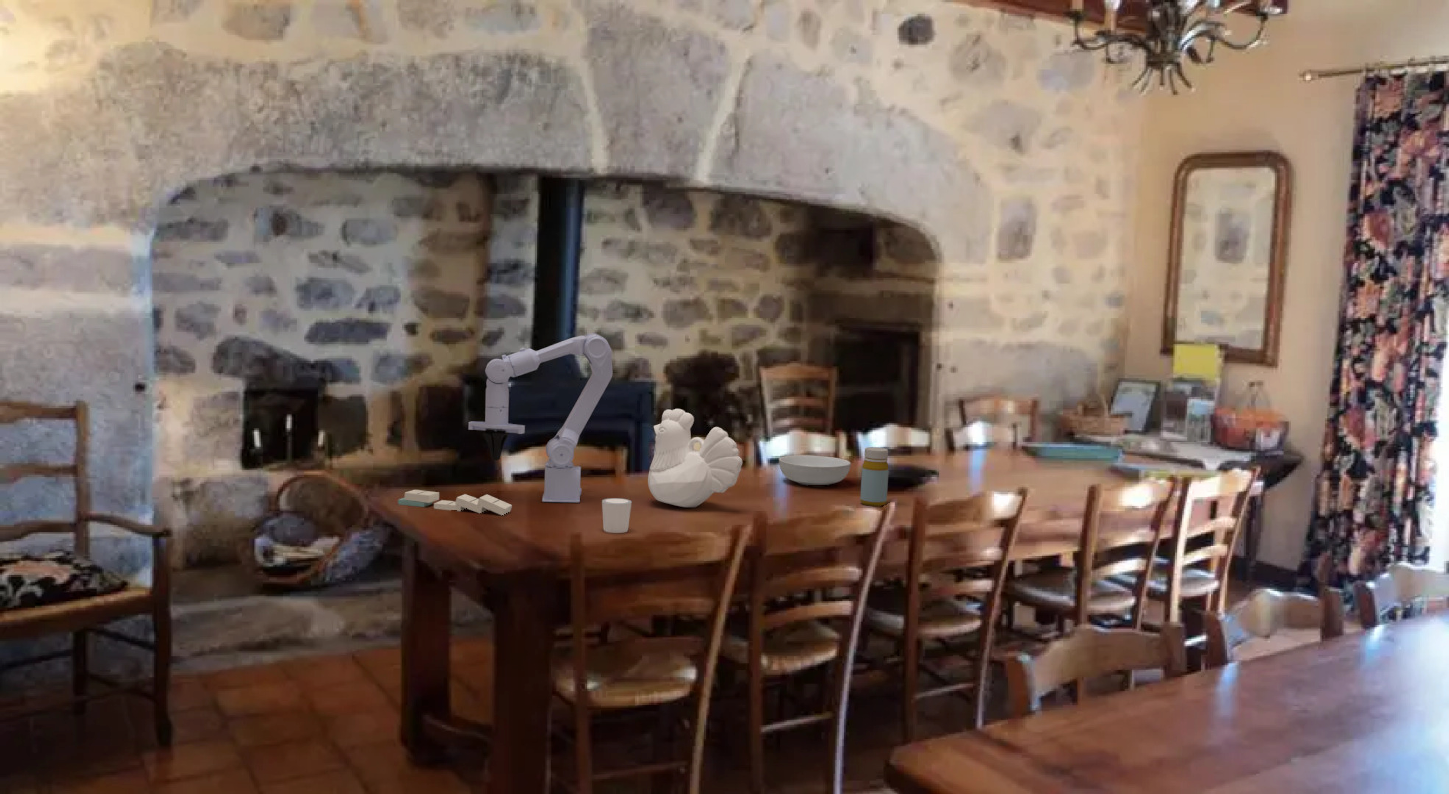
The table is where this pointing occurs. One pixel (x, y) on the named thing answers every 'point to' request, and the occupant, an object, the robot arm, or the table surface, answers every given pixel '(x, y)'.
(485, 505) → the lead tile
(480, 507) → the tile
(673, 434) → the decorative rooster
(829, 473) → the serving bowl
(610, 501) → the shot glass
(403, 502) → the tile
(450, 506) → the tile
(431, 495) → the tile
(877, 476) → the bottle
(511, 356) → the robot arm
